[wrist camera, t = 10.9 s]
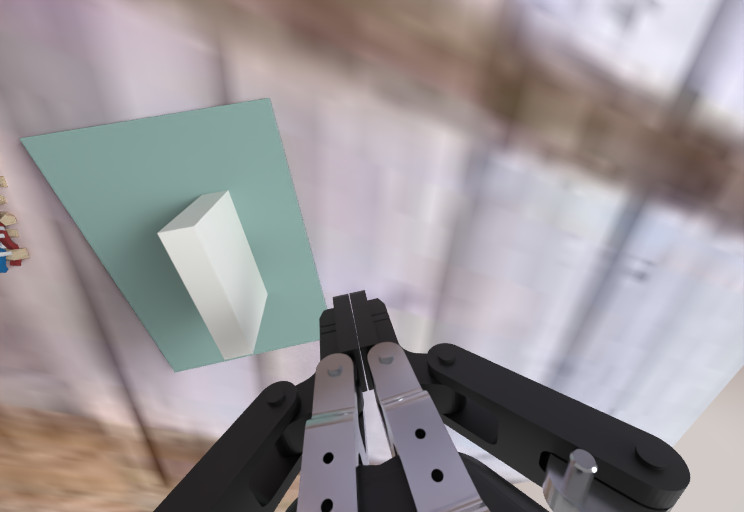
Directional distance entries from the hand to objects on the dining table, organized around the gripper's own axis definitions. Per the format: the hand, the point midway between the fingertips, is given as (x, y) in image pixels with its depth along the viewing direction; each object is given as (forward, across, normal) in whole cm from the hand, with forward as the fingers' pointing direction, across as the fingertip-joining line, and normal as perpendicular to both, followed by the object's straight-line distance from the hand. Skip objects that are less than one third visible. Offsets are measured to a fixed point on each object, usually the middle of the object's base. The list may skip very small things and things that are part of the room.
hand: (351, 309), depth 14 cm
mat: (+9, +9, 0) cm, 13 cm away
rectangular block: (+6, +7, +3) cm, 9 cm away
